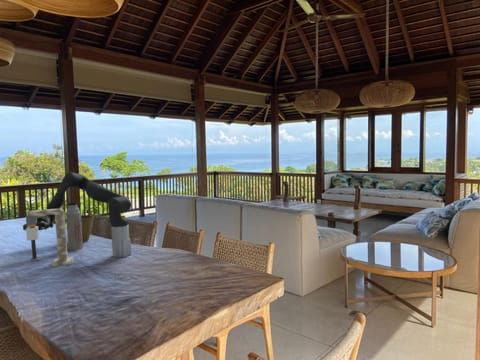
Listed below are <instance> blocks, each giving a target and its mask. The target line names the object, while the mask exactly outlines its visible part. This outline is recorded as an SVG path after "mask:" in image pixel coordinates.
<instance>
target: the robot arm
mask: <svg viewBox="0 0 480 360" xmlns="http://www.w3.org/2000/svg"><path fill="white" fill-rule="evenodd" d="M70 188H71V189H79V190H82V191H84V192H85V194H86V195H87V197H88V198H90V199H92V200H93V201H96V202H99V203H104V204H107V209H108V218H109V219H108V220H109V222H110V227H111V228H110V229H111V230H110V231H111V244H112V245H111V247H112V248H111V249H112V257H113V258H126V257H129V256H130V255H132V242H131V241H132V240H131V238H130V231H129V230H130V227H129V220H128V219H127V218H123V217H122V214H123V213H127V212H129V211H130V210H131V208H132V202H131V200H130V199H129V198H128V197H127V196H125V195H122V194H119V193H117V192H114V191H112V190H110V189H109V188H106V187H105V186H103V185H101V184H99V183H98V182H95V181H92V180H90V179H89V178H87V177H86V176H84V175H83V174H81V173H77V172H70V171H69V172H67V173H66V174H64V177H63V178H62V180H61V182H60V184H59V185H58V188H57V190H56V193H55V194H54V195H53V198H51V199H50V201H49V202H48V204H47V205H46V210H47V209H61V208H62V207H63V206H64V204H65V199H66V195H65V194H66V192H67V190H68V189H70ZM41 210H45V209H43V208H42V209H41ZM54 222H55V215H42V216H37V223H36V226H38V230H39V231H42V230H47V229H49V228H51V229H52V228H54V227H53V226H54ZM27 228H28V225H26V223H25V224H23V225H22V231H26V229H27Z"/></svg>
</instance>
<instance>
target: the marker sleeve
mask: <svg viewBox="0 0 480 360" xmlns="http://www.w3.org/2000/svg"><path fill="white" fill-rule="evenodd" d="M25 231H26V232H25V234H26V235H25V236H26V241H31V240H35V241H36V240H39V238H40V233H39V231H40V230H38V226H35V227H34V228H30V227H28V228H27V229H26V230H25Z"/></svg>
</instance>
